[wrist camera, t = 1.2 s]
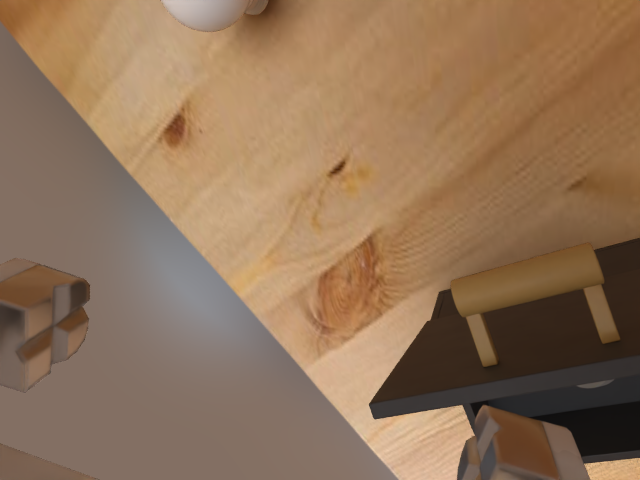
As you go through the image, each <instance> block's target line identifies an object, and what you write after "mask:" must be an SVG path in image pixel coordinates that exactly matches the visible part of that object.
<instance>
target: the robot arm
mask: <svg viewBox="0 0 640 480" xmlns="http://www.w3.org/2000/svg"><path fill="white" fill-rule="evenodd" d="M89 299H90V285H89V283H88V282H87V281H86V280H85V279H83V278H80V277H77V276H74V275H71V274H68V273H65V272H62V271H59V270H56V269H53V268H50V267H47V266H44V265H41V264H38V263H35V262H32V261H29V260H25V259H18V258H14V259H12V260H9V261H7V262H5V263H2V264H0V385H1V386H5V387H8V388H11V389H14V390H17V391H20V392H24V393H26V392H27V391H28V390H29V389H31V388H32V387H33V386H35V385H36V384H37V383H38V382H40V381H41V380H42V379H44V378H45V377H46V376H47V375H49V374H50V373H51V365H52V364H55V363H58V362H62V361H66V360H68V359H69V358H70V357H71V356H72V355H74V354H75V353H76V352H77V351H78V349H79V348H80V346H81V345H82V343H83V342H84V340H85V337H86V334H87V331H88V321H89V318H88V316H87V314H86V312H85V310H84V308H83V306H84V305H85V304H86V303H87V302H88V301H89ZM474 424H475V433H476V435H475V436H473V437H472V438H470V439H468V440H466V443H465V446H464V448H463V451H462V454H461V458H460V462H459V467H458V475H457V480H590V478H589V475H588V473H587V470H586V468H585V465H584V463H583V460H582V458H581V455H580V453H579V450H578V448H577V445H576V443H575V440H574V438H573V436H572V433H571V432H570V431H569V430H568V429H567V428H565V427H562V426H558V425H554V424H551V423H547V422H544V421H540V420H535V419H532V418H528V417H525V416H521V415H518V414H515V413H511V412H508V411H504V410H501V409H497V408H494V407H490V406H487V405H483V406H482V407H481V409H480V410H479V412H478V414H477V416H476V419H475V421H474ZM0 480H99V479H96V478H93V477H90V476H88V475H85V474H82V473H79V472H77V471H74V470H71V469H69V468H66V467H63V466H60V465H58V464H55V463H52V462H49V461H47V460H44V459H41V458H39V457H36V456H33V455H30V454H28V453H25V452H22V451H20V450H17V449H14V448H11V447H8V446H6V445H3V444H0Z"/></svg>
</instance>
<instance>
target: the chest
mask: <svg viewBox="0 0 640 480" xmlns="http://www.w3.org/2000/svg"><path fill="white" fill-rule="evenodd" d="M594 252H595V254H596V257H597V259H598V262H599V265H600V268H601V271H602V274H603V277H604V278H605V277H609V276H613V275H617V274H621V273H625V272H629V271H633V270H637V269H640V238H637V239H634V240H630V241H626V242H623V243H619V244H615V245H612V246H608V247H604V248H600V249H597V250H594ZM455 314H459V312H458V310H457V308H456V305H455V302H454V299H453V296H452V291H451V289H448V290H445V291H441V292H439V294H438V297H437V300H436V304H435V307H434V311H433V314H432V317H431V320H434V319H439V318H443V317H447V316H451V315H455ZM483 405H487V406H490V407H494V408H497V409H501V410H504V411H508V412H511V413H515V414H518V415H521V416H525V417H528V418H532V419H535V420H540V421H544V422H547V423H551V424H554V425H558V426H562V427H565V428H567V429H568V430H569V431H570V432H571V433H572V436H573V438H574V440H575V443H576V445H577V448H578V450H579V453H580V455H581V458H582V460H583V463H584V464H585V463H595V462H604V461H614V460H623V459H632V458H640V375H637V376H631V377H625V378H619V379H614V380H613V381H612V382H610V383H609V384H607V385H604V386H600V387H596V388H581V387H578V386H571V387H565V388H559V389H553V390H547V391H541V392H535V393H529V394H523V395H517V396H511V397H505V398H499V399H493V400H487V401H481V402H475V403H469V404H464V405H463V407H464V410H465V412H466V415H467V417H468V420H469V422H470V425H471V427H472V430H473V432H474V434H475V435H476V433H475V424H474V421H475V419H476V416H477V414H478V412H479V410H480V409H481V407H482V406H483Z"/></svg>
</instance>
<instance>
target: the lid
mask: <svg viewBox="0 0 640 480" xmlns="http://www.w3.org/2000/svg"><path fill="white" fill-rule="evenodd" d="M451 291H452V296H453V299H454V302H455V305H456V308H457V310H458V312H459V314H455V315H451V316H447V317H443V318H439V319H434V320H430V321H427V322H426V324H425V325H424V326H423V328H422V329H421V331H420V332H419V334H418V335H417V336H416V338H415V339H414V341H413V342H412V344H411V345H410V346H409V348H408V349H407V351H406V352H405V353H404V355H403V356H402V358H401V359H400V361H399V362H398V363H397V365H396V366H395V368H394V369H393V371H392V372H391V373H390V375H389V376H388V378H387V379H386V381H385V382H384V383H383V385H382V386H381V388H380V389H379V390H378V392H377V393H376V395H375V396H374V398H373V399H372V400H371V402H370V403H369V406H370V409H371V412H372V415H373V418H374V419H380V418H386V417H392V416H398V415H404V414H410V413H416V412H422V411H428V410H434V409H440V408H446V407H452V406H458V405H464V404H469V403H475V402H481V401H487V400H493V399H499V398H505V397H511V396H517V395H523V394H529V393H535V392H541V391H547V390H553V389H559V388H565V387H571V386H577V385H583V384H589V383H595V382H601V381H607V380H613V379H619V378H625V377H631V376H637V375H640V269H637V270H633V271H629V272H625V273H621V274H617V275H613V276H609V277H605V278H604V277H603V274H602V271H601V268H600V265H599V262H598V259H597V257H596V254H595V252H594V249H593V247H592V245H591V244H590V243H584V244H581V245H577V246H574V247H570V248H566V249H563V250H559V251H556V252H552V253H548V254H545V255H541V256H538V257H534V258H530V259H527V260H523V261H519V262H516V263H512V264H509V265H505V266H501V267H498V268H494V269H491V270H487V271H483V272H480V273H476V274H473V275H469V276H465V277H462V278H458V279H454V280H452V281H451Z"/></svg>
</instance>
